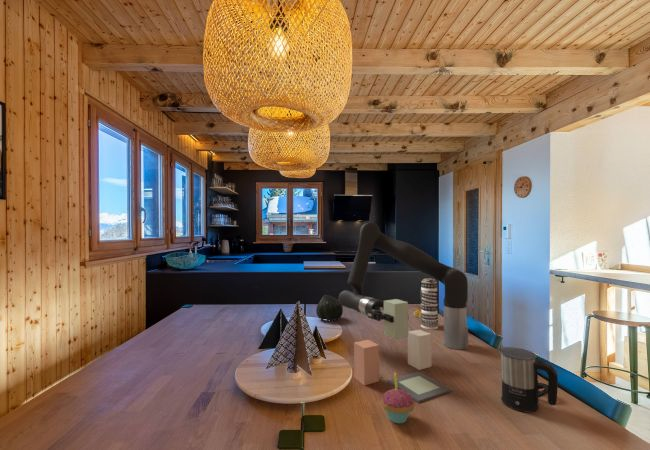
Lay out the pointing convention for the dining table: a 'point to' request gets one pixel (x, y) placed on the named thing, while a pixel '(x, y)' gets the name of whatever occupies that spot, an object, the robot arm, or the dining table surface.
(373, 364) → the terracotta block
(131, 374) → the dining table surface
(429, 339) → the cream block
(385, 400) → the cupcake
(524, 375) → the milk frother
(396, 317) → the sage block
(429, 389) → the slate mat
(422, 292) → the decorative candle
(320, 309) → the squash
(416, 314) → the bread roll
